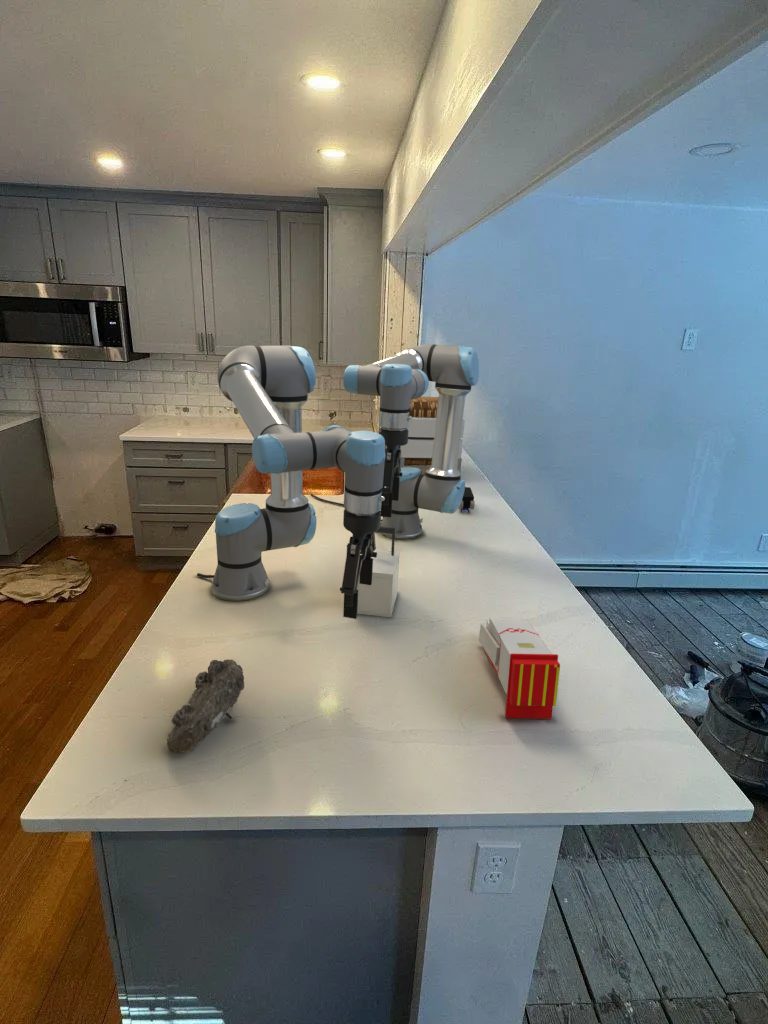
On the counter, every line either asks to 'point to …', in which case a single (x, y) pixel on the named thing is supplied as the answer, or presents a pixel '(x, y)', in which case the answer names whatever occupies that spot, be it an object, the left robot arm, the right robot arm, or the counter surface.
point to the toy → (522, 666)
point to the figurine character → (467, 500)
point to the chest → (378, 596)
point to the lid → (385, 557)
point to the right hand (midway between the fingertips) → (389, 508)
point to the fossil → (206, 705)
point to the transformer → (423, 433)
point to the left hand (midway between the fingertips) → (358, 599)
